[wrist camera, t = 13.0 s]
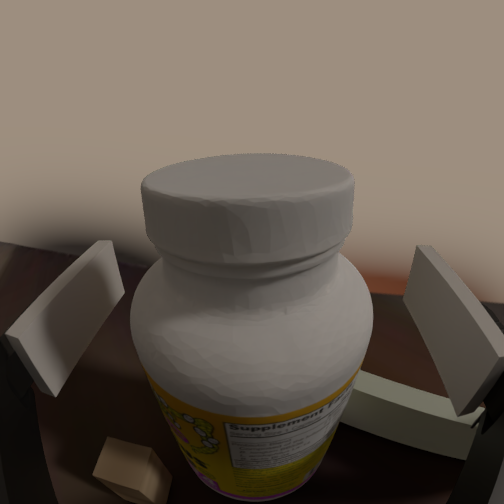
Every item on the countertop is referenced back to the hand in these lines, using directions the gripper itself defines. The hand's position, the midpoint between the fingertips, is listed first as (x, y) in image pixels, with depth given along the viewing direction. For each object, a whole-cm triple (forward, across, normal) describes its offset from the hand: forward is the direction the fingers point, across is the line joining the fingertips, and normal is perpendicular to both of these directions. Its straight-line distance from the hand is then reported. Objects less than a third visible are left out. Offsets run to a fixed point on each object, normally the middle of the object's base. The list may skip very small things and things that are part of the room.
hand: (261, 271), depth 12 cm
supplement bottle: (-4, 0, -8) cm, 9 cm away
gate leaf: (-2, +6, -8) cm, 10 cm away
